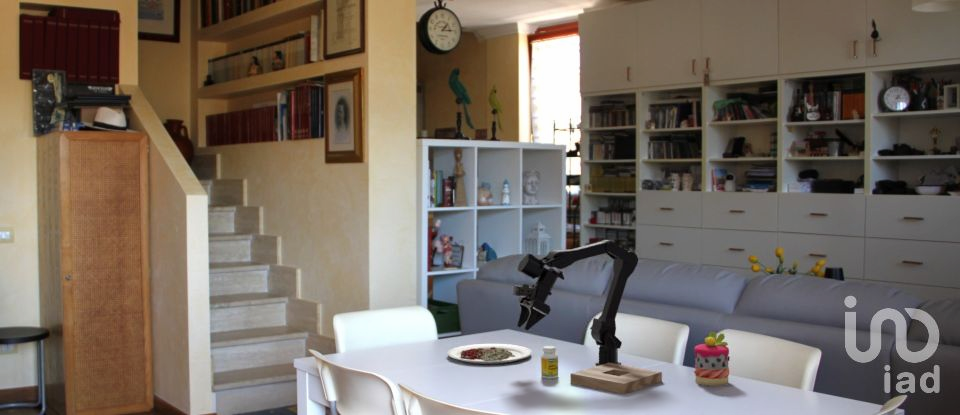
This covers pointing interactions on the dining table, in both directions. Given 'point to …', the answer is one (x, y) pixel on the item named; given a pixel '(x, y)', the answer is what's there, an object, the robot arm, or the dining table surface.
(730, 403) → the dining table surface
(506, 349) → the plated food
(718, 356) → the cake
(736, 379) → the dining table surface
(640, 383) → the socket block
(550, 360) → the supplement bottle
